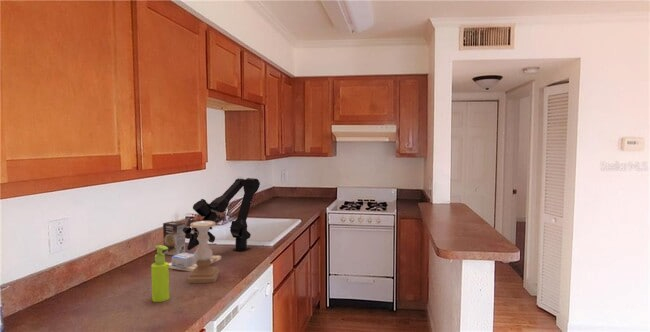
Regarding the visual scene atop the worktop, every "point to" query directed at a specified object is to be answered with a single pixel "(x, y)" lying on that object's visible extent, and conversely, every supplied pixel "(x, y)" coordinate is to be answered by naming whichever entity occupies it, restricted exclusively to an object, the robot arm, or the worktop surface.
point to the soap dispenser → (160, 276)
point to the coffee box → (174, 237)
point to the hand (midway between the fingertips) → (188, 249)
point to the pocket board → (192, 267)
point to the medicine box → (184, 260)
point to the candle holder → (203, 255)
